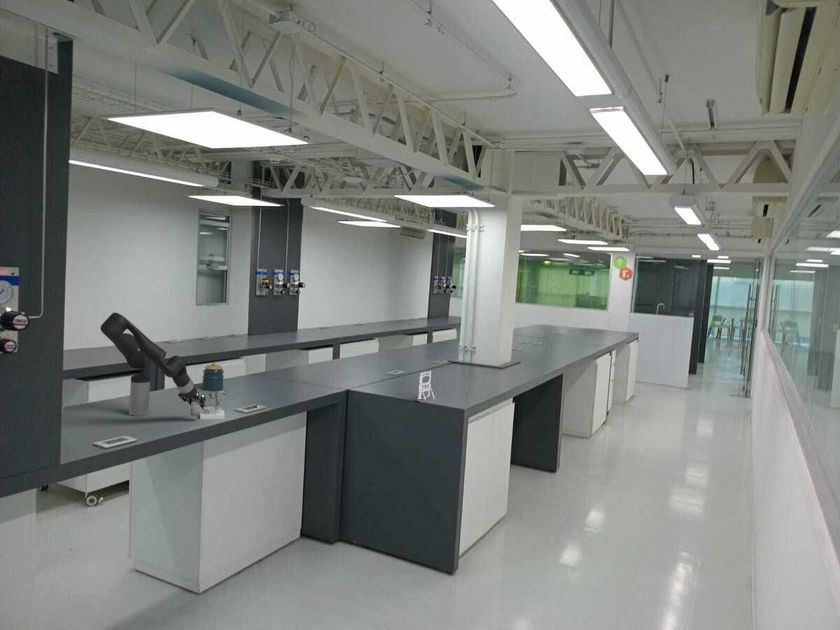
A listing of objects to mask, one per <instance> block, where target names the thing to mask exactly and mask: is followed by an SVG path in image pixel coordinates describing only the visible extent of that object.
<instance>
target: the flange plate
mask: <svg viewBox="0 0 840 630" xmlns="http://www.w3.org/2000/svg"><path fill="white" fill-rule="evenodd" d="M225 416H226V415H225V410H224V409H222V407H221V406H219V407H217V406H216V405H215V406H214V405H212V406H211V405H209V406H204V407H203V410H202V409H201V415H199V417H200V418H199V420H225Z"/></svg>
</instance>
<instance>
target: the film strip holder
mask: <svg viewBox="0 0 840 630" xmlns="http://www.w3.org/2000/svg"><path fill="white" fill-rule="evenodd" d="M424 377H428V378H429V379H428V381H427V382H423V378H424ZM431 381H432V370H429V371H424V372H420V374H419V385H418V395H417V397H418V398H417V399H423V398H424V399H425V400H426V398H427V397H430V396H431V395H432V398H433V399H434V398H435V395H434V393H433V389H432V384H431V383H432V382H431ZM425 392H427V396H426V395H425ZM422 395H423V397H422ZM427 399H428V398H427Z"/></svg>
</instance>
